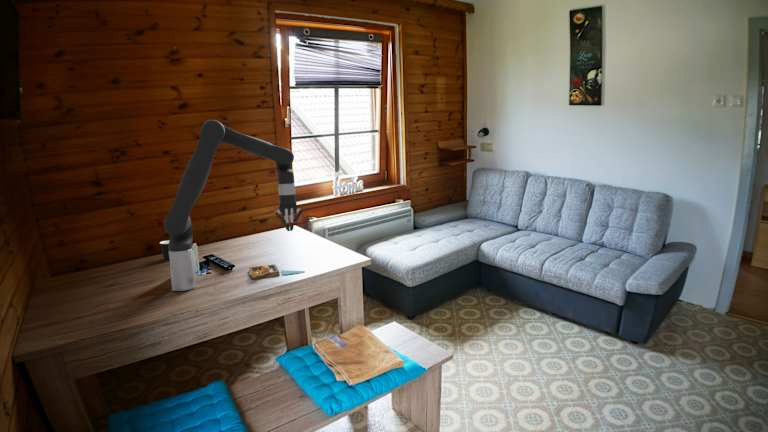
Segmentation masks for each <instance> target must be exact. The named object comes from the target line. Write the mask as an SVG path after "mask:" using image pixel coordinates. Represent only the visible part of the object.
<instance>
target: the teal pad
mask: <svg viewBox="0 0 768 432" xmlns="http://www.w3.org/2000/svg"><path fill="white" fill-rule="evenodd" d="M280 273H281V275H282V276H283V277H285V276H292V275H299V274H303V273H305V270H285V269H283V270H282V269H281V270H280Z"/></svg>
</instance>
